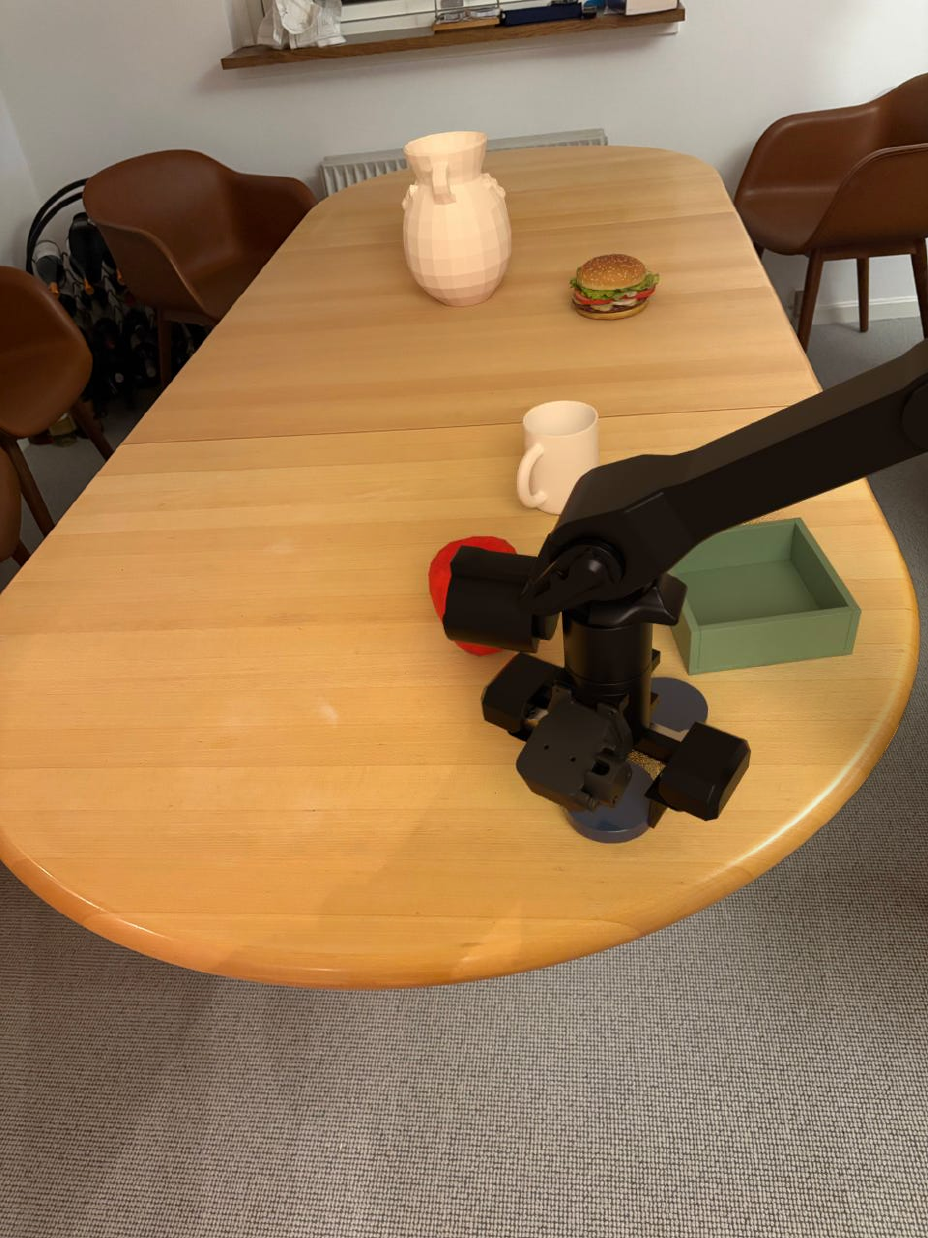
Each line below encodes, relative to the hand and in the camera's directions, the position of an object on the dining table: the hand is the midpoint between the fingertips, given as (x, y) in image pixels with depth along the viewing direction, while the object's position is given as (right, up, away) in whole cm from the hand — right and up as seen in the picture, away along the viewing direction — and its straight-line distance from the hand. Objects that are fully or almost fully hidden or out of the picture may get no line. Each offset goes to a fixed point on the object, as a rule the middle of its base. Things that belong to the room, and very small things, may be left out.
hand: (609, 802), depth 68 cm
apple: (-9, +12, +18) cm, 23 cm away
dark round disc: (0, -1, +1) cm, 1 cm away
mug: (-1, +27, +35) cm, 44 cm away
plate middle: (+6, +5, +7) cm, 10 cm away
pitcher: (-11, +71, +89) cm, 114 cm away
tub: (+16, +15, +17) cm, 27 cm away
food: (+14, +65, +77) cm, 102 cm away
